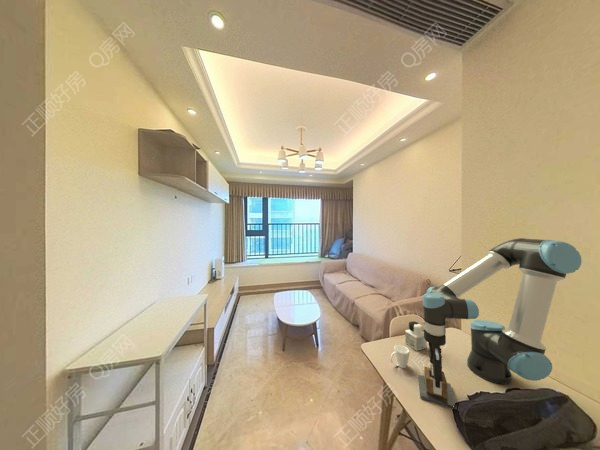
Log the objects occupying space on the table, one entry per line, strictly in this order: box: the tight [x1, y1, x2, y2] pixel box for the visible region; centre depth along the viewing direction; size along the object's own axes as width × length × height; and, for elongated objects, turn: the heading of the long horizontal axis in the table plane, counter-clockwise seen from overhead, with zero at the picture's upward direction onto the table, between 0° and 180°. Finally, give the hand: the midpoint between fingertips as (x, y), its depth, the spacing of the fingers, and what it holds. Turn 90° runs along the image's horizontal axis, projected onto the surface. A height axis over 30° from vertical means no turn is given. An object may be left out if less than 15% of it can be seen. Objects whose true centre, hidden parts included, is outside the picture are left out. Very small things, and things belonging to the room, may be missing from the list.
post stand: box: [417, 367, 457, 410], centre depth 80 cm, size 12×12×10 cm
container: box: [404, 320, 428, 352], centre depth 111 cm, size 8×8×13 cm
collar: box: [423, 366, 448, 399], centre depth 80 cm, size 7×7×6 cm
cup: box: [389, 344, 410, 369], centre depth 96 cm, size 7×10×8 cm
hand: (435, 386), depth 80 cm, fingers closed on collar, 7 cm apart
